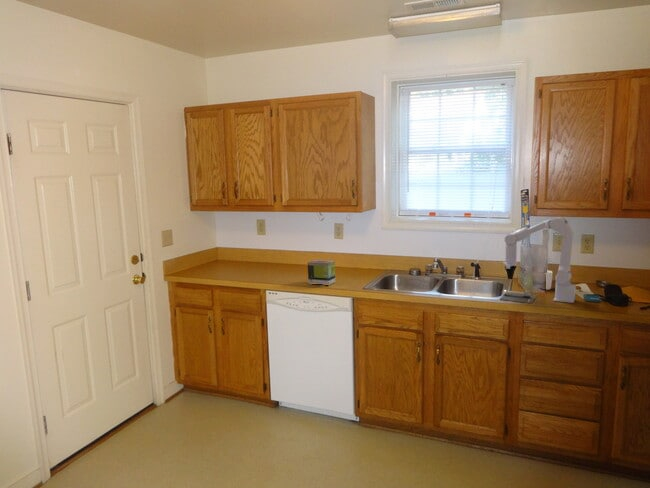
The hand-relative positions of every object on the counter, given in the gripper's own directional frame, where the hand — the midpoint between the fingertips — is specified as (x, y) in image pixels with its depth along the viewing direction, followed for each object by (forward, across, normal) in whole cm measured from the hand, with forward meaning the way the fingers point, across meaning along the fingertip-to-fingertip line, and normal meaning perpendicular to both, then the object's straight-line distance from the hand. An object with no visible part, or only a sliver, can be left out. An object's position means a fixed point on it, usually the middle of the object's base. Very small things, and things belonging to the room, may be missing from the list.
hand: (510, 278), depth 266 cm
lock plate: (+8, +8, +6) cm, 13 cm away
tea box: (+9, +26, -110) cm, 113 cm away
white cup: (+9, -20, +15) cm, 26 cm away
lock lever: (+8, +6, +5) cm, 11 cm away
